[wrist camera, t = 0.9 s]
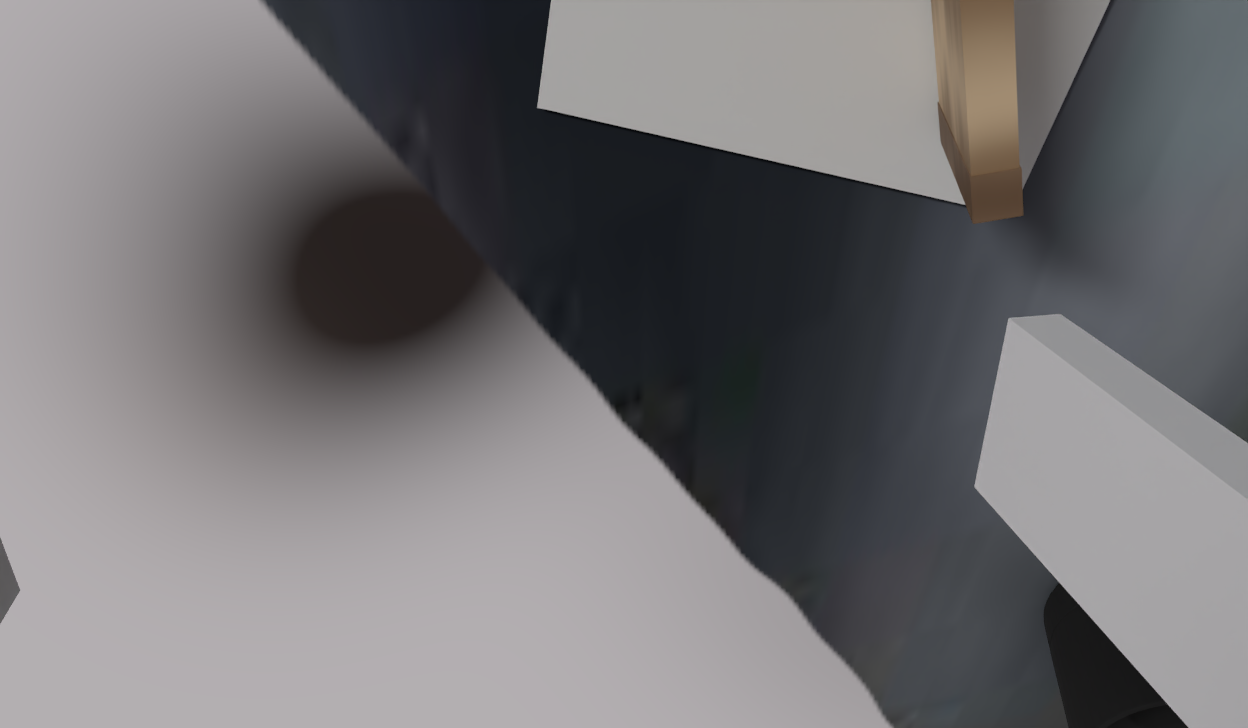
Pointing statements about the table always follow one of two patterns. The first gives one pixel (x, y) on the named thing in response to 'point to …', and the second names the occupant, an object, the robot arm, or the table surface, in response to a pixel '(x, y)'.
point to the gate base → (799, 78)
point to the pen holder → (1098, 673)
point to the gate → (979, 103)
